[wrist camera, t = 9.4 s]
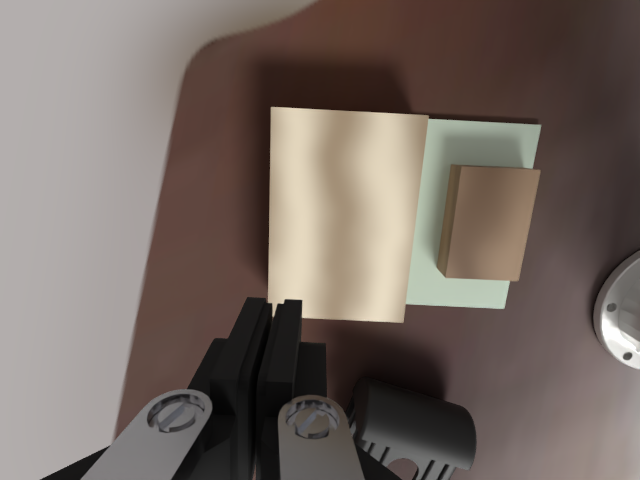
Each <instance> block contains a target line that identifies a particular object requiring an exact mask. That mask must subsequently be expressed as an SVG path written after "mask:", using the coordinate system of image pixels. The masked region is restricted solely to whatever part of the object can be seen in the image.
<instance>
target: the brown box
mask: <svg viewBox="0 0 640 480" xmlns="http://www.w3.org/2000/svg"><path fill="white" fill-rule="evenodd" d="M540 172H541V170H537V169H530V168H521V167H499V166H478V165H456V164H451V168H450V175H449V182H448V189H447V197H446V204H445V211H444V218H443V226H442V233H441V240H440V247H439V255H438V262H437V269H438V270H439V271H440V272H441V273H442V275H443V276H444V277H445V278H457V279H479V280H502V281H518V280H519V275H520V270H521V266H522V261H523V256H524V251H525V246H526V241H527V236H528V231H529V226H530V221H531V216H532V211H533V206H534V201H535V196H536V191H537V187H538V182H539V177H540Z"/></svg>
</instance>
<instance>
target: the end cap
mask: <svg viewBox="0 0 640 480" xmlns="http://www.w3.org/2000/svg"><path fill="white" fill-rule="evenodd" d="M345 415H346V417H347V421H348V424H349V428H350V431H351V434H353V436H352V438H353V441H354V443H356V444H357V445H358V446H359V447H361V448H362V449H363V450H365V451H366V452H367V453H368V454H370V455H371V456H372V457H374V458H375V459H376V460H377V461H379V462H380V463H381V464H383V465H384V466H385V467H387V465H388V464H389V463H390V462H392V461H393V460H395V459H399V458H407V459H410V460H412V461H414V462H415V463H416V464H417V466H418V468H417V471H416V473H415V475H414V477H413V479H412V480H450V478H451V476H452V474H453V472H454V471H455V469H456V467H459V468H462V469H465V470H470V468H471V466H472V464H473V461H474V458H475V452H476V430H475V425H474V422H473V419H472V417H471V415H470V413H469V412H468V411H467V410H466V409H465V408H464V407H462V406H460V405H456V404H453V403H450V402H447V401H443V400H440V399H437V398H434V397H430V396H427V395H424V394H421V393H417V392H414V391H411V390H407V389H404V388H401V387H398V386H394V385H391V384H388V383H385V382H381V381H378V380H375V379H372V378H368V377H362V378H361V379H360V380H359V381H358V382H357V383H356V385H355V387H354V389H353V396H352V398H351V401H350V403H349V405H348V407H347V410H346V412H345Z"/></svg>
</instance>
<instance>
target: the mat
mask: <svg viewBox="0 0 640 480" xmlns="http://www.w3.org/2000/svg"><path fill="white" fill-rule="evenodd" d="M540 129H541V125H533V124H515V123H496V122H478V121H459V120H441V119H428V126H427V134H426V143H425V151H424V159H423V167H422V175H421V183H420V191H419V199H418V207H417V215H416V223H415V232H414V240H413V248H412V256H411V264H410V272H409V280H408V288H407V296H406V304H416V305H436V306H457V307H478V308H498V309H504V307H505V302H506V297H507V292H508V287H509V282H510V281H502V280H479V279H457V278H445V277H444V276H443V275H442V273H441V272H440V271H439V270H438V269H437V262H438V255H439V247H440V240H441V233H442V226H443V218H444V211H445V204H446V197H447V189H448V182H449V175H450V168H451V164H456V165H478V166H499V167H521V168H530V169H533V164H534V159H535V154H536V149H537V144H538V139H539V134H540Z"/></svg>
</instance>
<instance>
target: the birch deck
mask: <svg viewBox="0 0 640 480" xmlns="http://www.w3.org/2000/svg"><path fill="white" fill-rule="evenodd" d="M428 118H429V115H413V114H394V113H376V112H357V111H339V110H320V109H302V108H283V107H271V142H270V209H269V275H268V303H272V305H273V314H272V316H274V315H275V311H276V307H277V304H278V303H280V304H284V300H285V299H295V300H302V318H317V319H338V320H359V321H380V322H401V323H403V321H404V312H405V304H406V296H407V288H408V280H409V272H410V264H411V256H412V248H413V240H414V232H415V223H416V215H417V207H418V199H419V191H420V183H421V175H422V167H423V159H424V151H425V143H426V134H427V126H428Z"/></svg>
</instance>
